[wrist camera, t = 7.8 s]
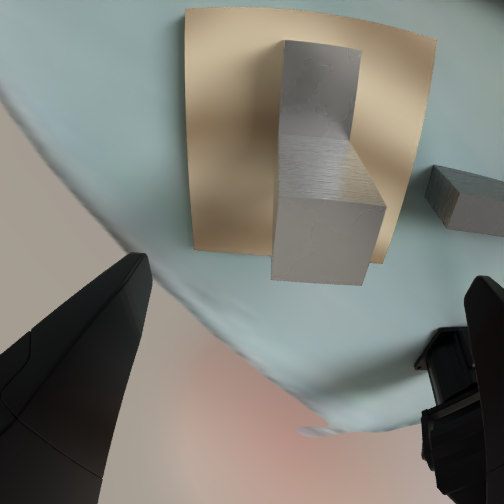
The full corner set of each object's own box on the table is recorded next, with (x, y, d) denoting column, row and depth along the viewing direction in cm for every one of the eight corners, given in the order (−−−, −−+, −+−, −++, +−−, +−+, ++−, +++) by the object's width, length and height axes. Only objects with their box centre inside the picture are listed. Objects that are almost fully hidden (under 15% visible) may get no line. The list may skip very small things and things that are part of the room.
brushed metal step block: (330, 178, 16) (361, 285, 10) (274, 173, 17) (270, 280, 10) (348, 47, 12) (417, 63, 6) (283, 39, 12) (291, 40, 6)
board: (378, 252, 21) (382, 263, 20) (198, 238, 21) (194, 250, 20) (427, 38, 12) (436, 40, 11) (191, 10, 12) (185, 8, 11)
